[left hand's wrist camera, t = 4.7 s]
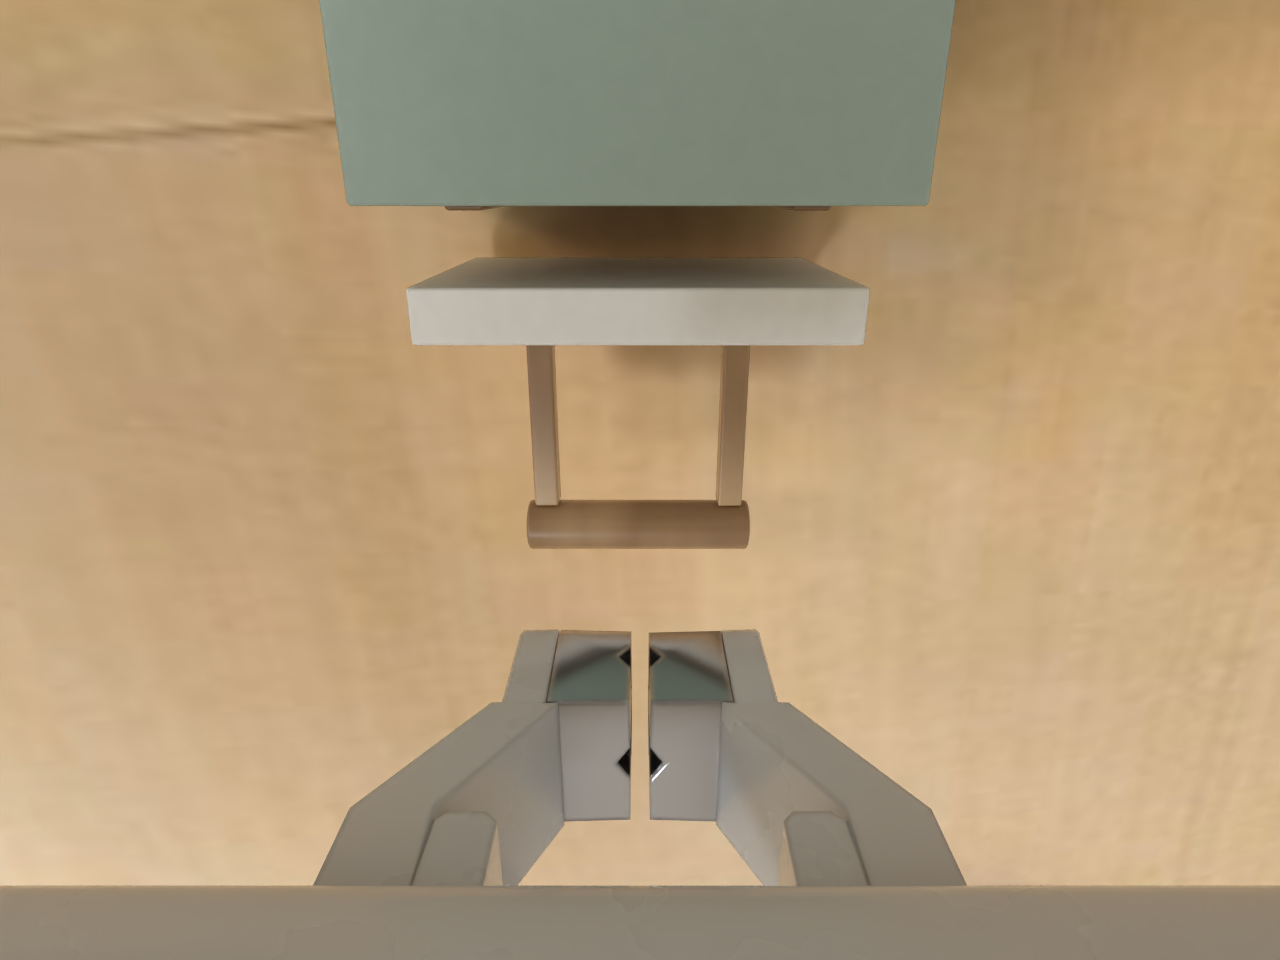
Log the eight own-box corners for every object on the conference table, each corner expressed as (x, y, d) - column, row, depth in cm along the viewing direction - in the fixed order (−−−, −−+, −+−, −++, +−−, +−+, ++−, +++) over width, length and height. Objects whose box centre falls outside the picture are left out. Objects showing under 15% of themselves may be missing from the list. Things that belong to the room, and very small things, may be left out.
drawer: (785, 475, 24) (838, 580, 18) (491, 475, 24) (437, 580, 18) (873, -649, 15) (1045, -1264, 9) (402, -650, 15) (227, -1265, 9)
